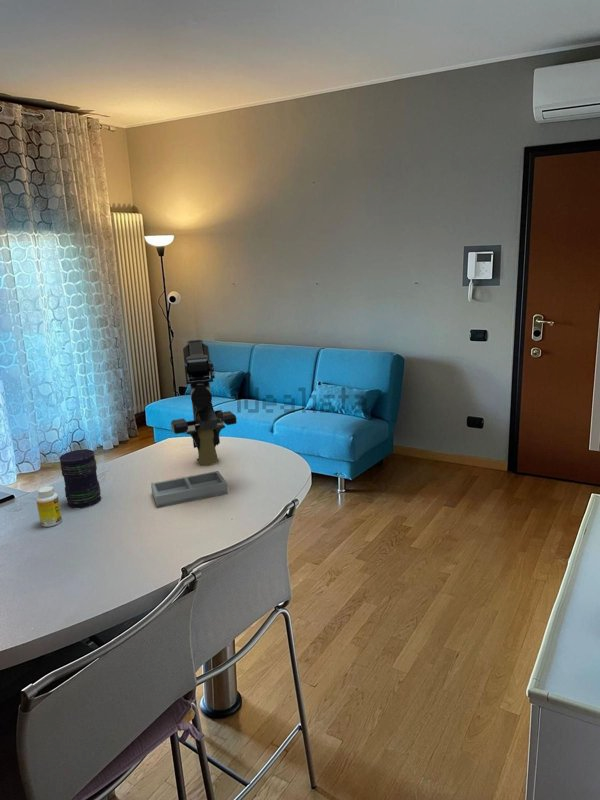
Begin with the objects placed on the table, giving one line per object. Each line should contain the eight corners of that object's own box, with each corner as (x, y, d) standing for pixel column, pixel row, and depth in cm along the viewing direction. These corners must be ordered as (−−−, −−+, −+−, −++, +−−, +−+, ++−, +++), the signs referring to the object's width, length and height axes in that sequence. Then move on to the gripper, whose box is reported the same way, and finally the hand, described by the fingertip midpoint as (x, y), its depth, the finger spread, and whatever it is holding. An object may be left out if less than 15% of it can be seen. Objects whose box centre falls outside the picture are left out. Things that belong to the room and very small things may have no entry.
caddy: (152, 494, 178) (150, 483, 177) (219, 480, 185) (218, 470, 184) (157, 507, 168) (155, 496, 167) (227, 493, 175) (226, 482, 174)
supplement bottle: (60, 525, 160) (54, 491, 158) (39, 529, 159) (32, 494, 157) (63, 517, 166) (57, 483, 163) (42, 520, 164) (36, 486, 162)
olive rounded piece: (220, 457, 179) (216, 423, 177) (215, 465, 174) (212, 430, 171) (200, 458, 180) (197, 424, 177) (196, 465, 174) (192, 430, 171)
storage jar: (59, 505, 174) (51, 458, 170) (85, 492, 182) (78, 447, 178) (83, 510, 169) (75, 462, 165) (108, 497, 177) (101, 451, 174)
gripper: (175, 410, 161) (181, 463, 165) (239, 400, 168) (244, 451, 172) (167, 401, 171) (173, 451, 175) (229, 392, 178) (233, 441, 182)
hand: (206, 449), depth 176 cm, fingers closed on olive rounded piece, 4 cm apart
